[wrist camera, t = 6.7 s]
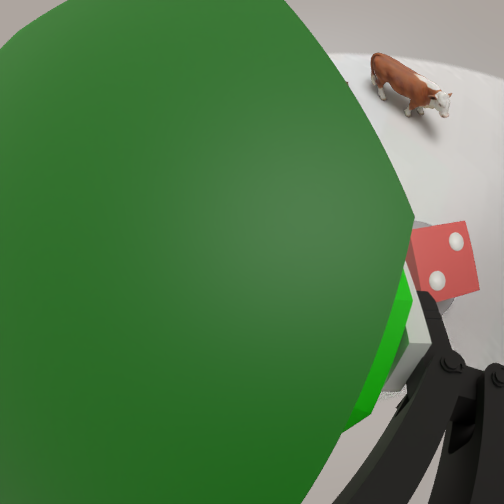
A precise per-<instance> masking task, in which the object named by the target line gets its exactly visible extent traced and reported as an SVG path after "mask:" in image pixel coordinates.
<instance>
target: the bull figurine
mask: <svg viewBox="0 0 504 504" xmlns="http://www.w3.org/2000/svg"><path fill="white" fill-rule="evenodd" d="M374 72H375V73H374ZM375 74H376V75H375ZM376 76H377V77H376ZM371 80H372V83H373V85H374V86H376V84H377V86H378V89H379V92H378V95H380V98H381V100H384V101H385V100H387V98H386V95H385V93H384V91H383V85H384V84H385V83H386V82H388V83H389V84H390V85H391V87H392V88H393V89H394V90H395V91H396V92H397V93H399V94H401V95H403V96H405V97H407V98H409V99H411V100H410V103H409V106H408V108H406V109H405V110H404V112H405V115H406V116H407V117H411V112H410V111H411V110H414V109H415V108H416V107H418V108H417V110H418V113H419V114H420V115H424V112H423V108H431V109H433V108H436V110H437V111H439V114H440V116H441V117H443V118H447V117H448V116H449V113H448V109H449V105H450V100H449V97H450V96H451V95H452V93H450V94H447V93H446V92H442V91H441V89H440V88H439V86H438V85H437V84H436V83H434V82H432V81H430V80H428V79H427V78H426V77H424V76H422V75H420V74H418V73H416V72H415V71H413V70H411V69H410V68H408V67H406V66H405V65H403V64H402V63H400V62H399V61H397V60H395V59H393V58H392V57H390V56H388V55H385V54H382V53H375V54H373V56H372V57H371Z"/></svg>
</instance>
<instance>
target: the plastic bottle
mask: <svg viewBox="0 0 504 504" xmlns="http://www.w3.org/2000/svg"><path fill="white" fill-rule="evenodd" d="M414 218H415V216H414V214H413V211H412V209H411V206H410V204H409V201H408V199H407V197H406V194H405V192H404V190H403V187H402V185H401V183H400V181H399V178H398V176H397V174H396V172H395V170H394V168H393V166H392V164H391V161H390V159H389V157H388V155H387V153H386V151H385V149H384V147H383V145H382V144H381V142H380V140H379V138H378V136H377V134H376V132H375V130H374V129H373V127H372V125H371V123H370V121H369V120H368V118H367V116H366V114H365V113H364V111H363V109H362V107H361V106H360V104H359V102H358V101H357V99H356V97H355V96H354V94H353V93H352V91H351V89H350V88H349V86H348V85H347V83H346V81H345V80H344V78H343V77H342V75H341V74H340V72H339V71H338V69H337V68H336V66H335V65H334V63H333V62H332V61H331V59H330V58H329V56H328V55H327V54H326V52H325V51H324V50H323V48H322V47H321V45H320V44H319V43H318V41H317V40H316V39H315V37H314V36H313V35H312V33H311V32H310V31H309V30H308V28H307V27H306V26H305V24H304V23H303V22H302V21H301V20H300V18H299V17H298V16H297V15H296V14H295V12H294V11H293V10H292V9H291V8H290V7H289V5H288V4H287V3H286V2H285V1H284V0H68V1H66V2H64V3H62V4H60V5H59V6H57V7H55V8H53V9H52V10H50V11H48V12H47V13H46V14H44V15H42V16H40V17H39V18H37V19H36V20H34V21H33V22H31V23H30V24H28V25H27V26H25V27H24V28H22V29H21V30H20V31H18V32H17V33H16V34H15V35H14V36H13V37H12V38H11V39H10V40H9V41H8V42H7V43H6V44H5V45H4V46H3V47H2V48H1V49H0V504H301V503H302V501H303V499H304V498H305V496H306V495H307V493H308V492H309V490H310V489H311V487H312V485H313V484H314V482H315V480H316V479H317V477H318V475H319V474H320V472H321V470H322V469H323V467H324V465H325V463H326V462H327V460H328V458H329V456H330V454H331V453H332V451H333V449H334V447H335V445H336V443H337V441H338V439H339V437H340V435H341V433H343V432H344V431H346V430H347V429H349V428H350V427H352V426H354V425H355V424H356V423H358V422H360V421H361V420H363V419H364V418H366V417H367V416H369V415H370V414H371V412H372V410H373V408H374V406H375V404H376V402H377V399H378V397H379V395H380V393H381V390H382V388H383V385H384V383H385V381H386V378H387V376H388V373H389V371H390V368H391V366H392V363H393V360H394V358H395V355H396V352H397V349H398V347H399V344H400V341H401V338H402V335H403V332H404V329H405V326H406V323H407V319H408V316H409V313H410V310H411V306H412V303H413V299H412V295H411V292H410V288H409V285H408V281H407V278H406V275H405V272H404V269H403V267H404V263H405V259H406V255H407V251H408V246H409V242H410V237H411V233H412V228H413V223H414Z"/></svg>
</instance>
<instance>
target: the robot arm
mask: <svg viewBox="0 0 504 504" xmlns="http://www.w3.org/2000/svg"><path fill="white" fill-rule="evenodd" d="M403 269H404V272H405V275H406V278H407V281H408V285H409V288H410V292H411V295H412V299H413V303H412V306H411V310H410V313H409V316H408V319H407V323H406V326H405V329H404V332H403V335H402V338H401V341H400V344H399V347H398V349H397V352H396V355H395V358H394V360H393V363H392V366H391V368H390V371H389V373H388V376H387V378H386V381H385V383H384V385H383V388H382V390H381V392H400V391H401V389H402V388H403V387H404V385H405V384H406V386H407V394H406V395H405V397H404V398H403V399H402V401H401V402H400V403H399V404H398V406H397V407H396V408H397V411H396V413H395V414H394V416H393V418H392V420H391V421H390V423H389V424H388V426H387V428H386V430H385V431H384V433H383V434H382V436H381V437H380V439H379V441H378V442H377V444H376V445H375V447H374V448H373V450H372V451H371V453H370V454H369V456H368V457H367V459H366V460H365V461H364V463H363V464H362V466H361V467H360V468H359V470H358V471H357V473H356V474H355V475H354V477H353V478H352V479H351V481H350V482H349V483H348V484H347V486H346V487H345V488H344V490H343V491H342V492H341V493H340V494H339V496H338V497H337V498H336V499H335V501H334V502H333V503H332V504H407V503H408V502H409V500H410V499H411V497H412V495H413V494H414V492H415V490H416V488H417V487H418V485H419V483H420V481H421V480H422V478H423V476H424V474H425V472H426V470H427V468H428V466H429V464H430V463H431V460H432V458H433V456H434V454H435V452H436V450H437V448H438V446H439V444H440V441H441V439H442V437H443V434H444V432H445V437H444V442H443V448H442V453H441V457H440V462H439V466H438V470H437V474H436V478H435V481H434V485H433V489H432V492H431V495H430V499H429V502H428V504H504V366H503V365H501V364H499V363H492V364H490V365H488V367H487V368H486V369H485V370H484V371H482V370H478V369H475V368H471V367H468V366H466V364H465V361H464V359H463V358H462V357H461V355H460V354H458V353H457V352H456V351H454V350H452V349H451V345H450V342H449V339H448V336H447V332H446V329H445V326H444V323H443V321H442V317H441V314H440V312H439V309H438V306H437V303H436V301H435V299H434V298H433V297H432V296H431V294H430V293H429V292H428V291H417V290H416V289H415V286H414V283H413V280H412V277H411V274H410V272H409V269H408V266H407V263H406V261H405V263H404V267H403ZM445 430H446V431H445Z"/></svg>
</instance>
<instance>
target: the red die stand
mask: <svg viewBox="0 0 504 504" xmlns="http://www.w3.org/2000/svg"><path fill="white" fill-rule="evenodd" d="M405 261H406V263H407V266H408V269H409V272H410V274H411V277H412V280H413V283H414V286H415V289H416V290H417V291H428V292H429V293H430V294H431V296H432V297H433V298H434V299H435V301H436V303H437V306H438V309H439V312H440V314H441V315H442V314H443V313H444V312H445V311H446V310H447V309H448V308H449V306H450V305H451V303H452V302H453V300H454V298H455V297H457V296H461V295H464V294H468V293H471V292H474V291H478V290H480V289H479V282H478V277H477V271H476V266H475V261H474V256H473V251H472V247H471V242H470V238H469V234H468V230H467V226H466V223H465V221H460V222H454V223H448V224H442V225H436V226H431V225H429V224H427V223H424V222H419V221H414V223H413V228H412V233H411V237H410V242H409V246H408V251H407V255H406V259H405Z"/></svg>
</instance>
